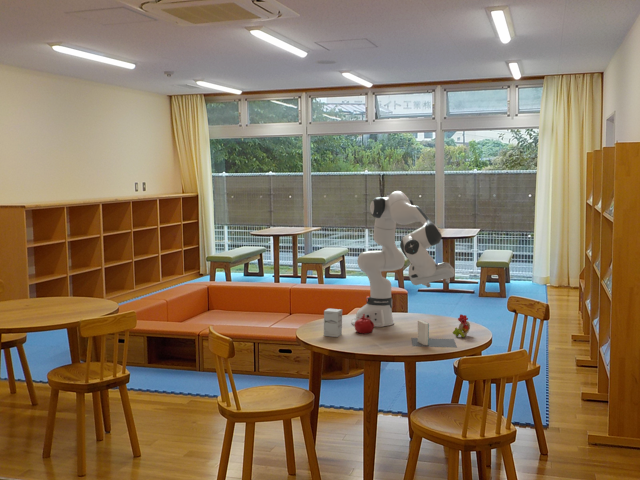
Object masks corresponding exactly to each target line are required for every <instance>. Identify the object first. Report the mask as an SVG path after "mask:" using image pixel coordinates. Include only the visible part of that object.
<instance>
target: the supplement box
mask: <svg viewBox="0 0 640 480" xmlns="http://www.w3.org/2000/svg"><path fill="white" fill-rule="evenodd" d="M342 328H343V309H340V308H339V309H338V308H330V307H329V308H326V309H325V310H323V337H333V338H338V337H340V336H342V334H343V333H342V331H343V329H342Z"/></svg>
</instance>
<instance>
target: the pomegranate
mask: <svg viewBox="0 0 640 480" xmlns="http://www.w3.org/2000/svg"><path fill="white" fill-rule="evenodd" d="M358 318H359V317H358ZM367 318H368V317H366V318H365V314H363V316H362V318H361V319H359V320H357V321H356V322H355V325H354V330H355V331H356V333H359V334H364V335H365V334H367V335H368V334H370V333H372V332H373V331H374V327H375V326H374V323H373V322H372V321H371V320H370V319H367ZM369 318H370V317H369Z"/></svg>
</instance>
